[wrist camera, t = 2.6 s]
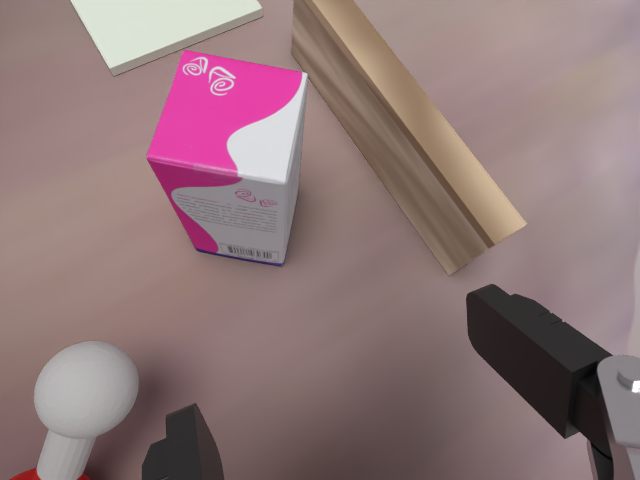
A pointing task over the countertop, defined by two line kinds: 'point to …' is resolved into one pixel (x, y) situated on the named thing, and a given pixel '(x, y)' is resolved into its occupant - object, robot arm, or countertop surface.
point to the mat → (157, 26)
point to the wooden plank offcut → (401, 133)
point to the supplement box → (232, 154)
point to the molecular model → (80, 405)
